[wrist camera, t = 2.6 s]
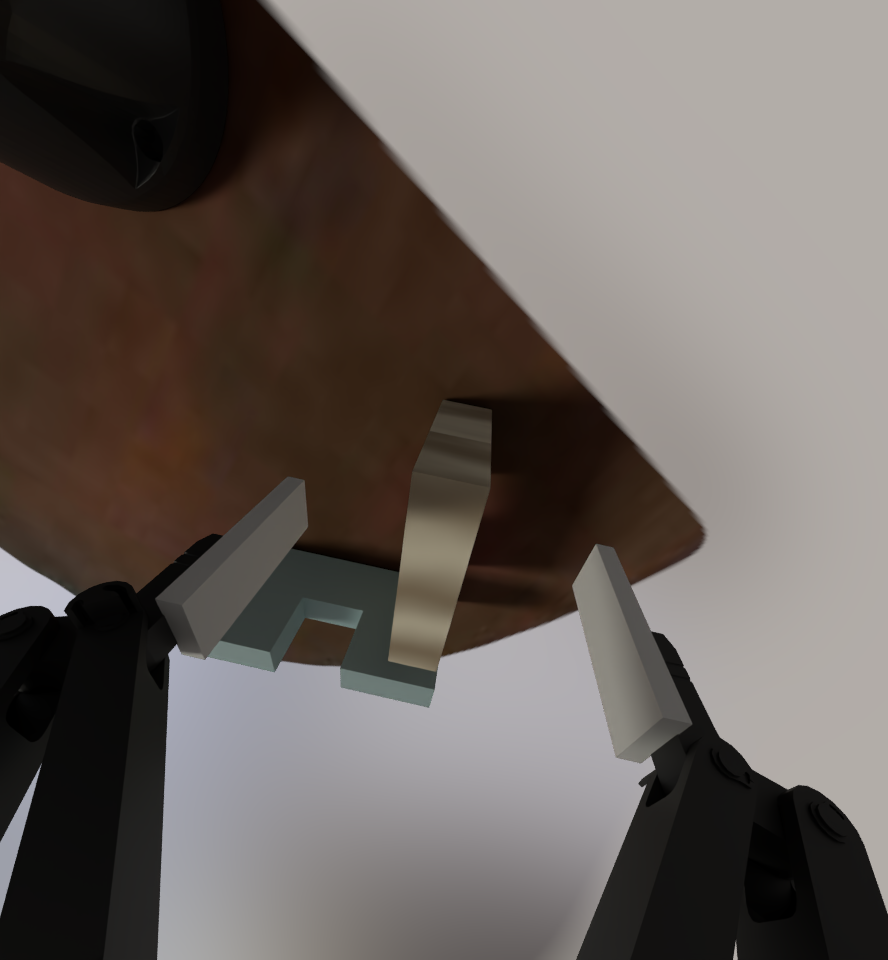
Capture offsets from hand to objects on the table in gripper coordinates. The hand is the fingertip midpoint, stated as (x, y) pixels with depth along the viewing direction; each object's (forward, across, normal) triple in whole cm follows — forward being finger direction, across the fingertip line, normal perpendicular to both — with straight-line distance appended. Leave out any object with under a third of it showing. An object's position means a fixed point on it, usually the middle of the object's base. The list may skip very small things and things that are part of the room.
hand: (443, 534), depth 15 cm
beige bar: (+11, 0, -6) cm, 12 cm away
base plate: (+11, -8, -18) cm, 22 cm away
